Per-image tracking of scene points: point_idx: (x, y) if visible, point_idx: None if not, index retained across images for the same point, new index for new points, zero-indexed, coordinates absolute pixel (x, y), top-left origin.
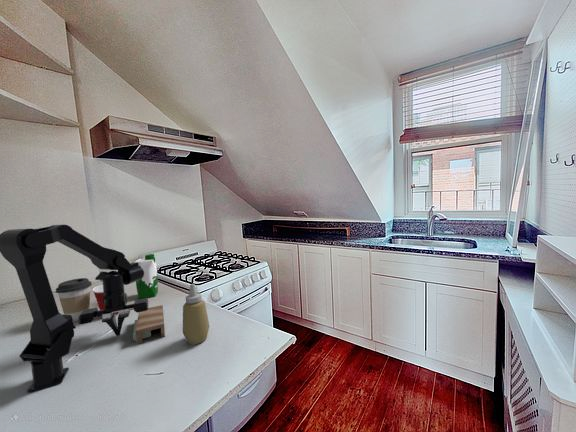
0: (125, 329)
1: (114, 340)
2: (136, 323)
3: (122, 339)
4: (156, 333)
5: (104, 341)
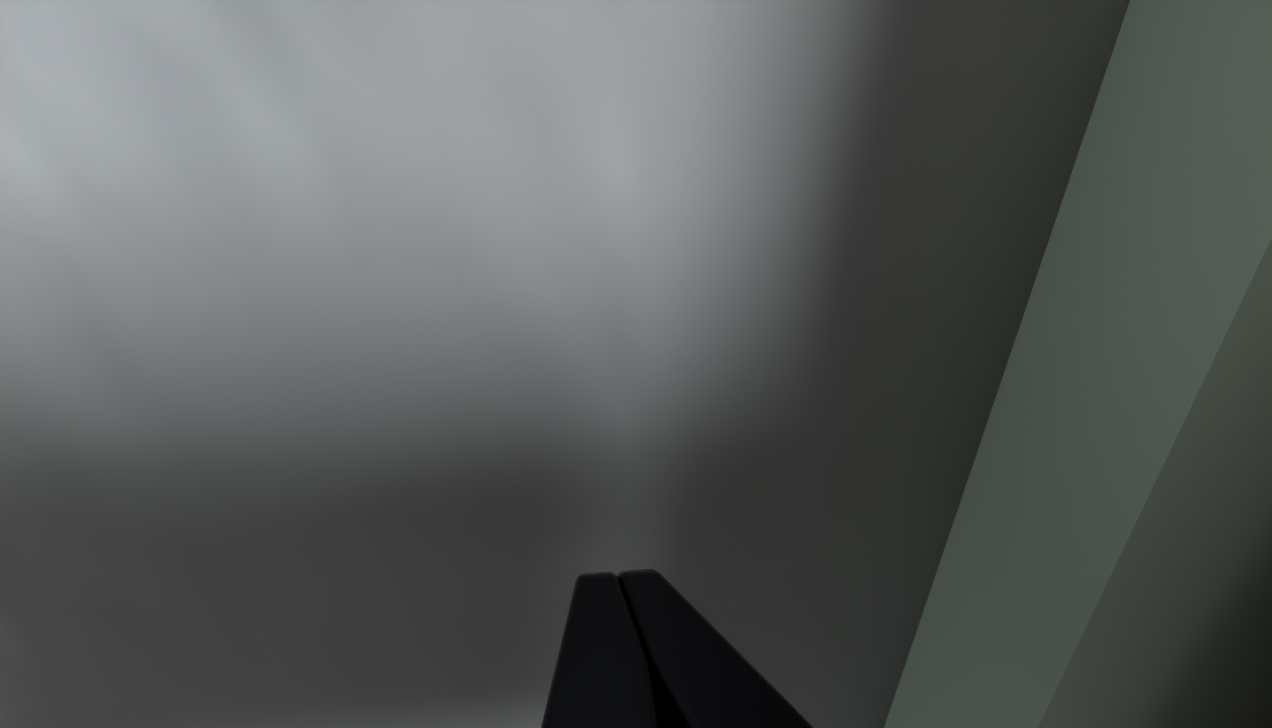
0: (810, 42)
1: (507, 640)
2: (1247, 419)
3: None
4: None
5: (230, 583)
